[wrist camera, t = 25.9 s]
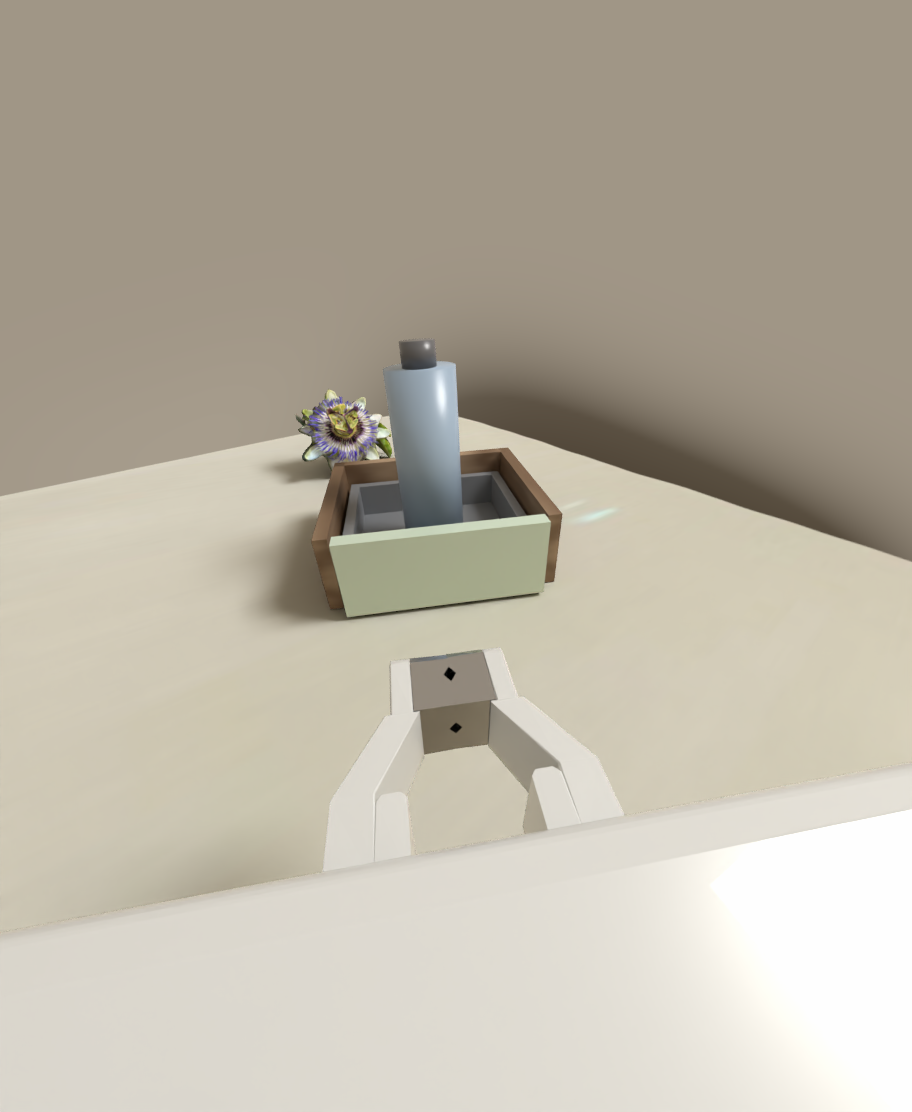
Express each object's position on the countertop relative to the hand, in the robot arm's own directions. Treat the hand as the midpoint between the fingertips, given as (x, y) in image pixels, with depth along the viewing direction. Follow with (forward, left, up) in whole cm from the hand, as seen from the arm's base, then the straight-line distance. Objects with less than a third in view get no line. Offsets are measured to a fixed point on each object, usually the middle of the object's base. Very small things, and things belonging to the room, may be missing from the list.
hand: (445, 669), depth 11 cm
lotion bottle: (+2, +23, -10) cm, 25 cm away
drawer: (+2, +23, -11) cm, 26 cm away
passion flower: (-8, +47, -11) cm, 49 cm away
